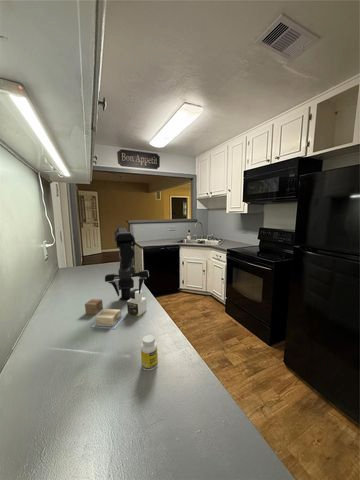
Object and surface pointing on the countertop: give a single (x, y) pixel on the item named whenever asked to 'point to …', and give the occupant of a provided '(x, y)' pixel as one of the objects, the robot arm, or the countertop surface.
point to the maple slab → (108, 317)
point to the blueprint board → (109, 326)
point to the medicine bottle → (136, 303)
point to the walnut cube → (93, 306)
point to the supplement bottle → (149, 353)
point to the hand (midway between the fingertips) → (129, 294)
